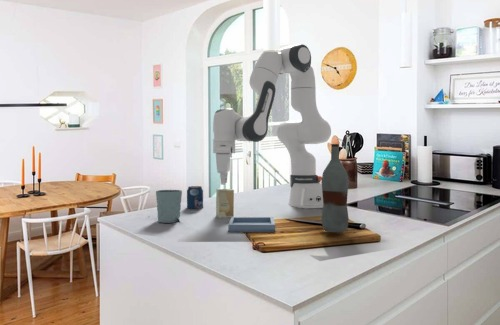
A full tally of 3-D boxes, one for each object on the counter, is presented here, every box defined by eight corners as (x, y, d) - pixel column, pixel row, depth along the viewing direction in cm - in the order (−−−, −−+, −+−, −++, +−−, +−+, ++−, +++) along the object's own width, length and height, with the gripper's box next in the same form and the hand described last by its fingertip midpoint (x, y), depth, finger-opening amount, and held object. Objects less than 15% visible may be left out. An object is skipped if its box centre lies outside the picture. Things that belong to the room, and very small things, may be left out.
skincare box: (219, 221, 170) (219, 190, 170) (215, 219, 174) (215, 189, 174) (234, 219, 173) (234, 189, 172) (230, 218, 177) (230, 188, 176)
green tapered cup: (151, 222, 169) (150, 191, 168) (165, 218, 178) (164, 189, 178) (173, 223, 165) (173, 192, 165) (186, 219, 175) (186, 189, 174)
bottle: (331, 233, 145) (331, 143, 143) (316, 228, 153) (316, 144, 152) (354, 231, 149) (354, 143, 147) (337, 226, 157) (338, 144, 156)
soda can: (198, 215, 183) (198, 187, 183) (184, 215, 186) (183, 187, 185) (205, 213, 190) (205, 186, 189) (191, 212, 192) (191, 185, 192)
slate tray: (273, 223, 164) (273, 216, 164) (275, 231, 148) (275, 224, 148) (231, 223, 164) (231, 217, 164) (228, 231, 148) (228, 224, 148)
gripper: (218, 149, 183) (218, 181, 183) (213, 148, 162) (213, 185, 163) (233, 149, 183) (233, 181, 183) (230, 148, 162) (230, 185, 162)
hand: (223, 183), depth 173 cm, fingers open, 8 cm apart
